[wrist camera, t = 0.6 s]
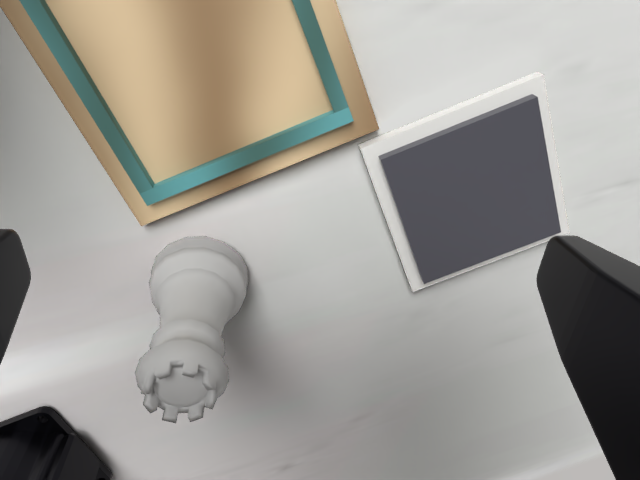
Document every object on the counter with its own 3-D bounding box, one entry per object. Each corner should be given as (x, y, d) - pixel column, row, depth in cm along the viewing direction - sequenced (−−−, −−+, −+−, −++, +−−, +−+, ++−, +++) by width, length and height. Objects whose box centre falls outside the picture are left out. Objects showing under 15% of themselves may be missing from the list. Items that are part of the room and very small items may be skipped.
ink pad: (409, 285, 26) (415, 297, 25) (358, 144, 23) (362, 152, 22) (563, 227, 26) (575, 237, 25) (536, 71, 22) (549, 77, 21)
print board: (144, 220, 23) (139, 231, 22) (-23, -43, 18) (-39, -43, 17) (376, 125, 22) (381, 132, 21) (271, -182, 17) (272, -191, 16)
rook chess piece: (266, 258, 25) (270, 377, 18) (219, 324, 26) (205, 457, 19) (181, 213, 23) (148, 324, 16) (136, 286, 25) (88, 415, 18)
